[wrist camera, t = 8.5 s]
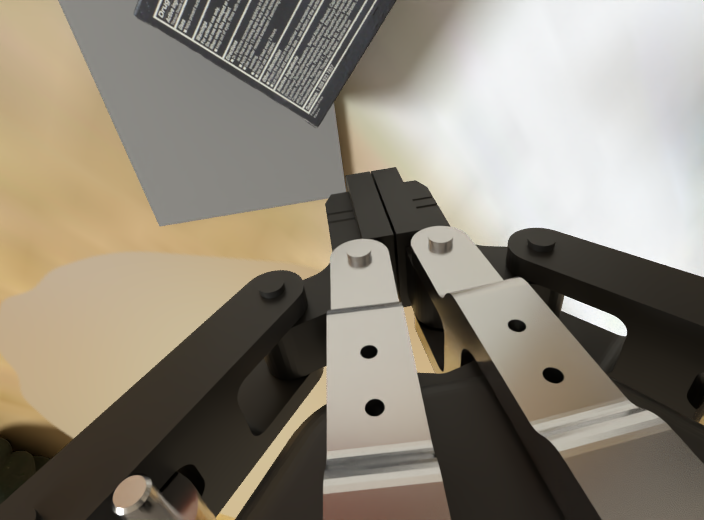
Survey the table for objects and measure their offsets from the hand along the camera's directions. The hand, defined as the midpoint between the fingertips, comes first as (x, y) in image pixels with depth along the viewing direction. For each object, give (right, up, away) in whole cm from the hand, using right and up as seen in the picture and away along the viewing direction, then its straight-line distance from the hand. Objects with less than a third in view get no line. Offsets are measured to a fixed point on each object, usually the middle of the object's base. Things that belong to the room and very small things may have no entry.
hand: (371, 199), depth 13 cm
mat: (-10, +11, +16) cm, 21 cm away
